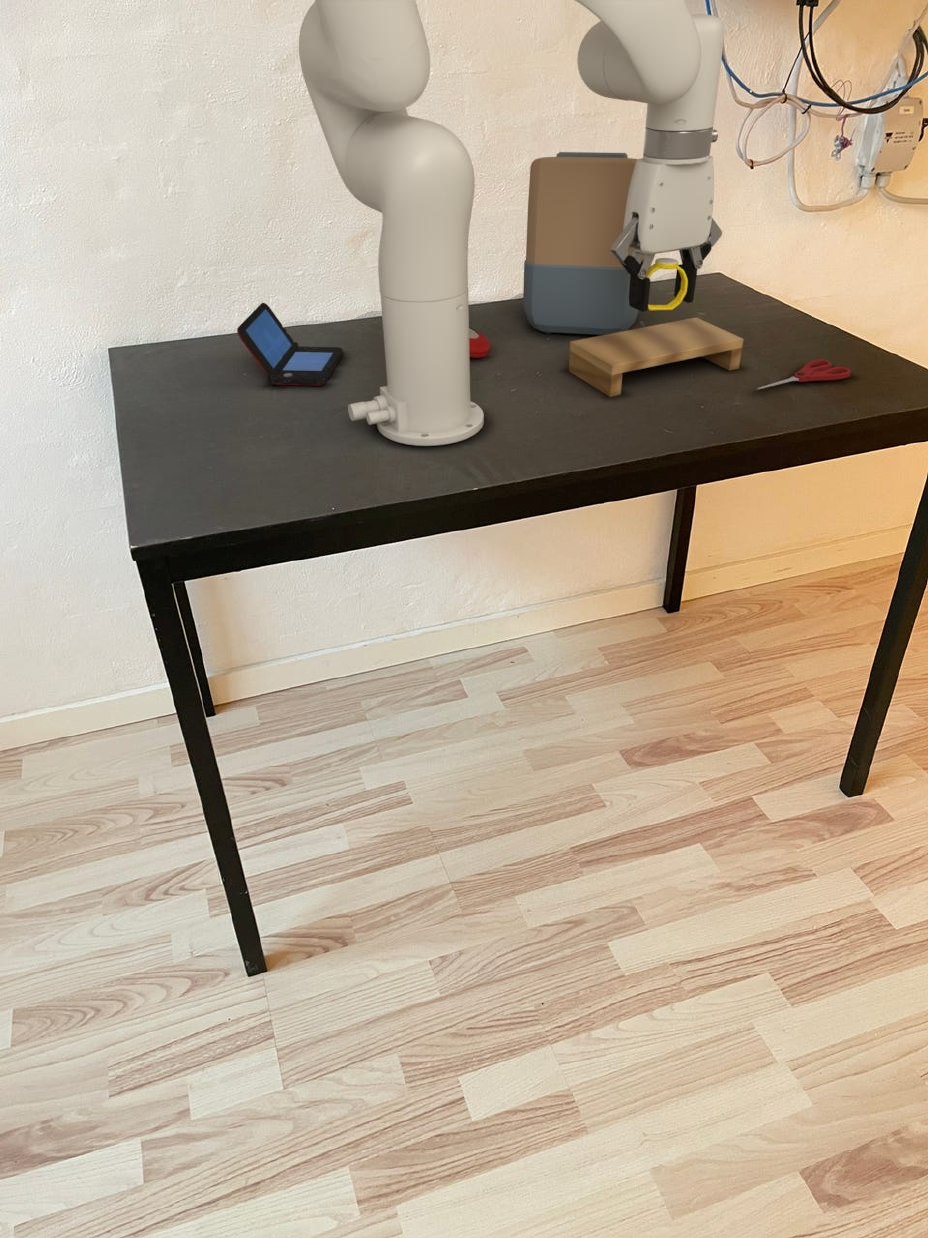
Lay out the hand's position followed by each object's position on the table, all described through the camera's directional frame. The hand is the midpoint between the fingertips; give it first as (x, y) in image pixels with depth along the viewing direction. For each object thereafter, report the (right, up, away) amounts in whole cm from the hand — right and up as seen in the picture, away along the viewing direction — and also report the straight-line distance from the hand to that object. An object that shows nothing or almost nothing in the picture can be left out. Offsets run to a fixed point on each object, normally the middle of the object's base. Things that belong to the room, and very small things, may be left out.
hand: (661, 302), depth 112 cm
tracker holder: (-26, -2, +14) cm, 29 cm away
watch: (0, -1, +1) cm, 1 cm away
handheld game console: (-48, -6, +8) cm, 49 cm away
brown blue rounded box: (-7, +4, +21) cm, 23 cm away
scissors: (+17, -10, +1) cm, 20 cm away
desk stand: (0, -7, +5) cm, 9 cm away
